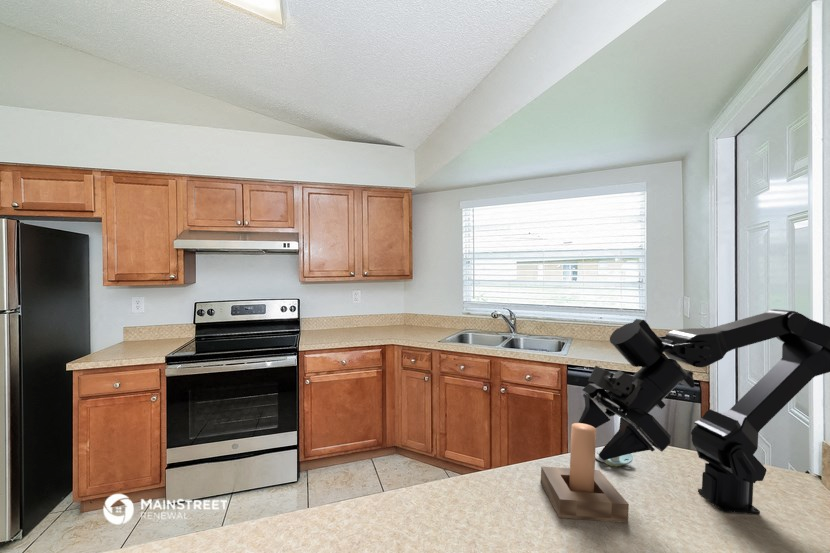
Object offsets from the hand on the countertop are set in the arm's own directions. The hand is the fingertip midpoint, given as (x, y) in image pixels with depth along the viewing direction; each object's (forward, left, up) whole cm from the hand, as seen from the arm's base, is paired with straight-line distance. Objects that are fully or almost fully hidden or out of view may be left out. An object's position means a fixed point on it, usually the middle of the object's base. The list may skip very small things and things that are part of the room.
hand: (587, 445), depth 68 cm
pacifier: (-12, -16, -10) cm, 22 cm away
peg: (+1, 0, -9) cm, 9 cm away
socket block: (+1, 0, -10) cm, 10 cm away
